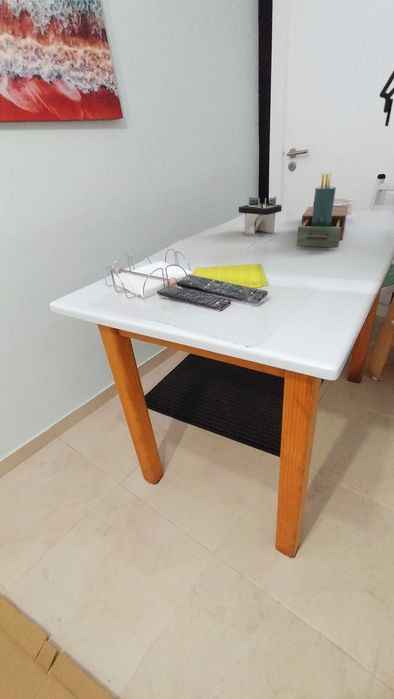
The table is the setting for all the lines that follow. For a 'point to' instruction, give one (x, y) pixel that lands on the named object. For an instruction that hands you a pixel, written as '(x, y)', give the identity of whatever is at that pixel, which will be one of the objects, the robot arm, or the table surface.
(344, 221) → the cabinet
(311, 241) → the drawer
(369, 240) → the table surface
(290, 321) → the table surface
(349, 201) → the paper bowls
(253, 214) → the black-topped pedestal
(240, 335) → the table surface
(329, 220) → the straw cup
